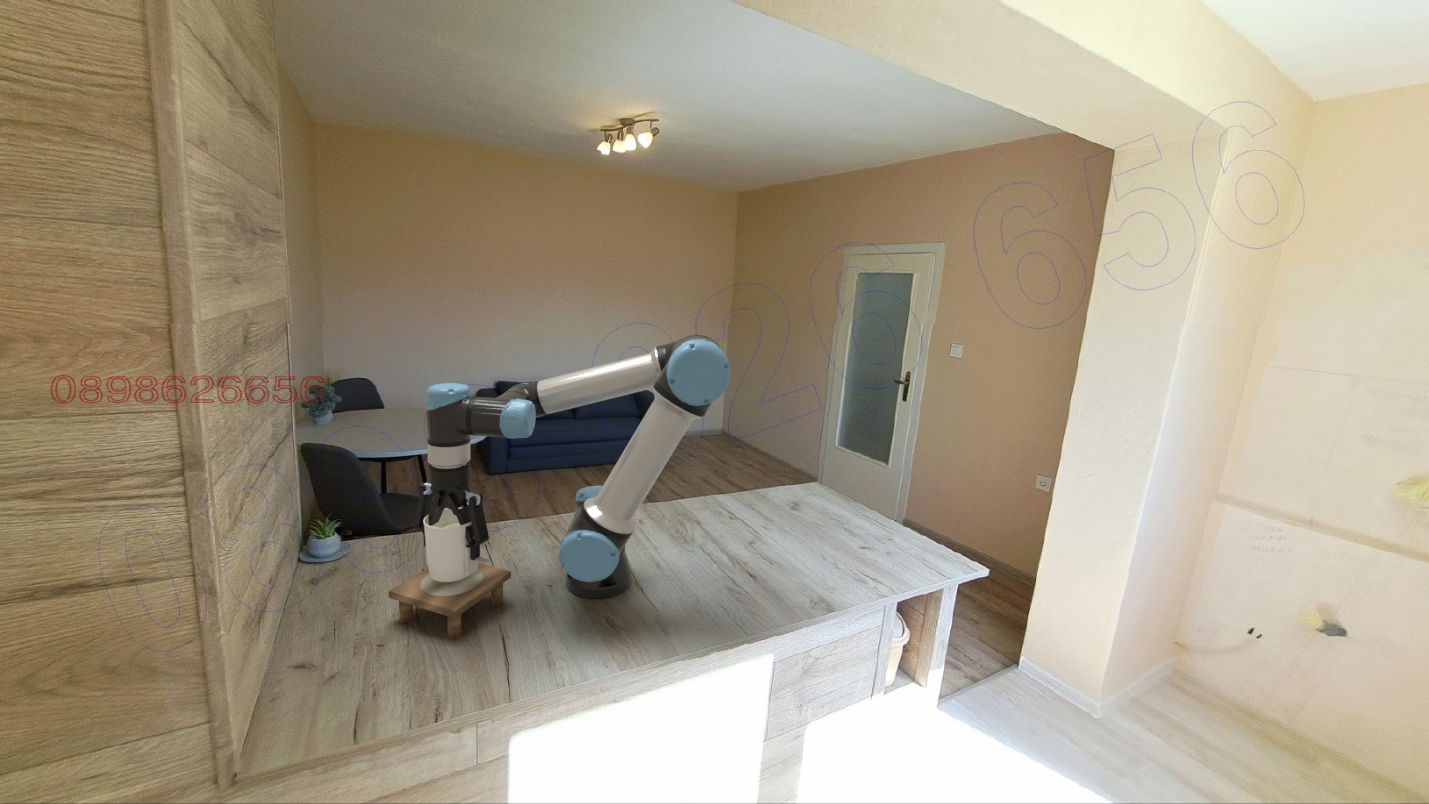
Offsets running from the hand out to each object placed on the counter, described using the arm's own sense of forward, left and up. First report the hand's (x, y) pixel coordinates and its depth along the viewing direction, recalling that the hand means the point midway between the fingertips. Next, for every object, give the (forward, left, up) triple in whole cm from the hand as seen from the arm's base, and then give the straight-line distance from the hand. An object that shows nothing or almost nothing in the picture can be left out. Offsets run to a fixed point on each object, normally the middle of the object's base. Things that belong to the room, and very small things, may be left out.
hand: (452, 567), depth 110 cm
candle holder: (0, 0, -1) cm, 1 cm away
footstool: (0, 0, -10) cm, 10 cm away
